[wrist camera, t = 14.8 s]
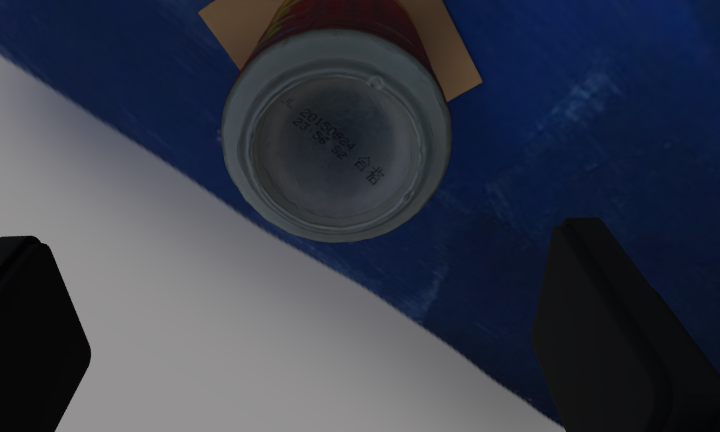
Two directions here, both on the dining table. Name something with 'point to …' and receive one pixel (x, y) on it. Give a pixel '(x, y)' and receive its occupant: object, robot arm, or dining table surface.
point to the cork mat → (423, 3)
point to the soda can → (337, 121)
